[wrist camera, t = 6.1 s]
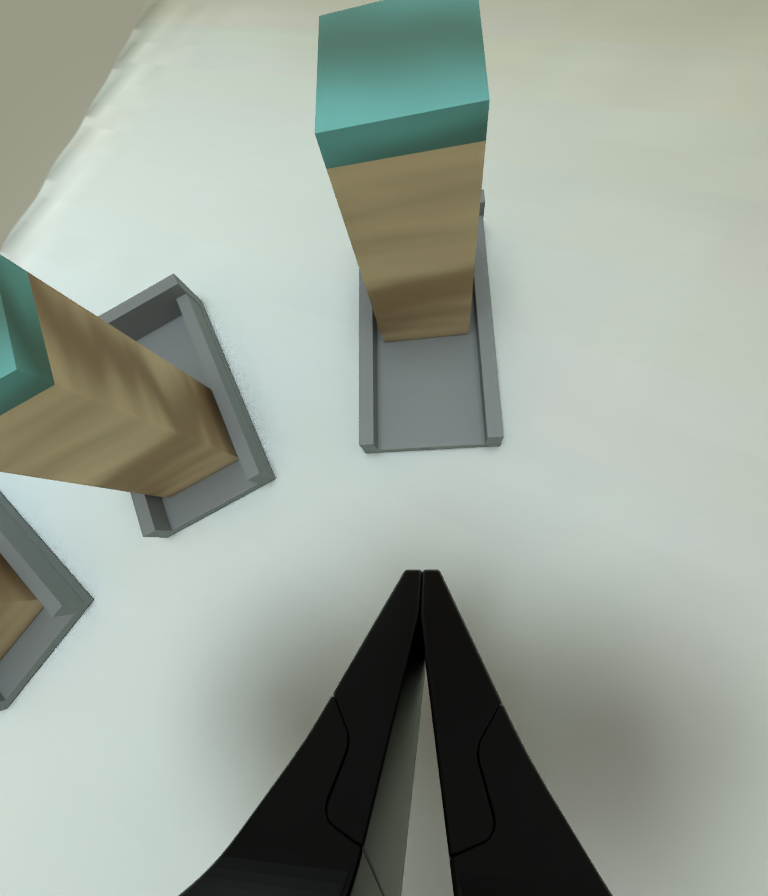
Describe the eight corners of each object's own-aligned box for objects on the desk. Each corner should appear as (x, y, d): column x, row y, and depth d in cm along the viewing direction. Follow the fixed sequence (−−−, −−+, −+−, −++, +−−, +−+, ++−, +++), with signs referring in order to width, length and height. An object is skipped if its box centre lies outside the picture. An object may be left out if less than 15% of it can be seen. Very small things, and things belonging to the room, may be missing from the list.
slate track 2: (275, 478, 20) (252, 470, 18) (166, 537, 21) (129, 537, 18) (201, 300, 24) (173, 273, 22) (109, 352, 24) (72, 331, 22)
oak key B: (240, 458, 20) (16, 369, 10) (168, 498, 21) (-128, 451, 10) (213, 391, 22) (-9, 248, 11) (146, 428, 22) (-137, 322, 11)
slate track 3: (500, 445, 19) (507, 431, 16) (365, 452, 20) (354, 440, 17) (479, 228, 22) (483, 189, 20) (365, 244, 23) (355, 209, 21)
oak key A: (468, 333, 20) (489, 99, 9) (383, 342, 21) (314, 133, 10) (463, 260, 21) (475, -23, 10) (382, 271, 22) (319, 15, 11)
